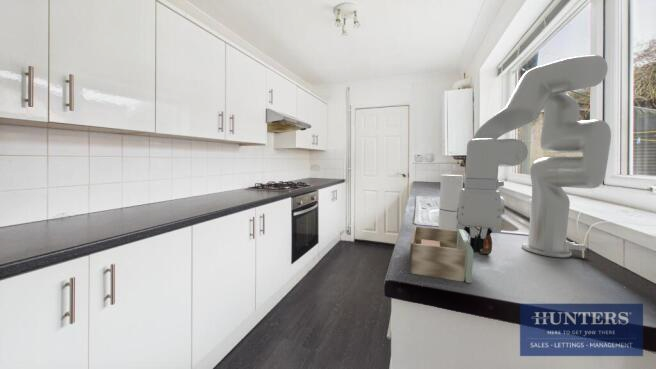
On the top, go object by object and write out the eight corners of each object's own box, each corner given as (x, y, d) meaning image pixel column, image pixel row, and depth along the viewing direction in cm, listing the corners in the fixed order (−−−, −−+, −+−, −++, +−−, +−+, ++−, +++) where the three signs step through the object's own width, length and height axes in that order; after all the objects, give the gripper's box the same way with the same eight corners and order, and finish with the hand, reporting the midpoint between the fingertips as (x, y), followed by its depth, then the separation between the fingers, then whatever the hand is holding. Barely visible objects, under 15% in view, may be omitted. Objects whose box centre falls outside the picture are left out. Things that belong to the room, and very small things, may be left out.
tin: (492, 258, 79) (494, 231, 78) (481, 257, 80) (483, 231, 79) (474, 243, 94) (476, 220, 93) (465, 242, 94) (466, 220, 94)
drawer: (461, 254, 81) (462, 229, 80) (471, 283, 62) (473, 251, 61) (416, 248, 86) (417, 225, 85) (413, 273, 66) (414, 243, 66)
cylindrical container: (434, 240, 96) (437, 174, 94) (453, 240, 96) (457, 174, 94) (442, 246, 89) (446, 175, 87) (463, 246, 89) (467, 175, 87)
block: (438, 257, 76) (439, 241, 76) (439, 263, 71) (440, 246, 71) (420, 255, 78) (421, 239, 77) (420, 260, 73) (421, 244, 73)
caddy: (456, 255, 81) (457, 230, 80) (463, 281, 63) (465, 250, 62) (413, 249, 86) (414, 226, 85) (409, 272, 68) (410, 243, 67)
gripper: (509, 185, 69) (504, 250, 71) (448, 182, 74) (445, 243, 76) (518, 187, 62) (512, 260, 64) (450, 184, 68) (447, 251, 69)
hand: (476, 251), depth 70 cm, fingers closed
